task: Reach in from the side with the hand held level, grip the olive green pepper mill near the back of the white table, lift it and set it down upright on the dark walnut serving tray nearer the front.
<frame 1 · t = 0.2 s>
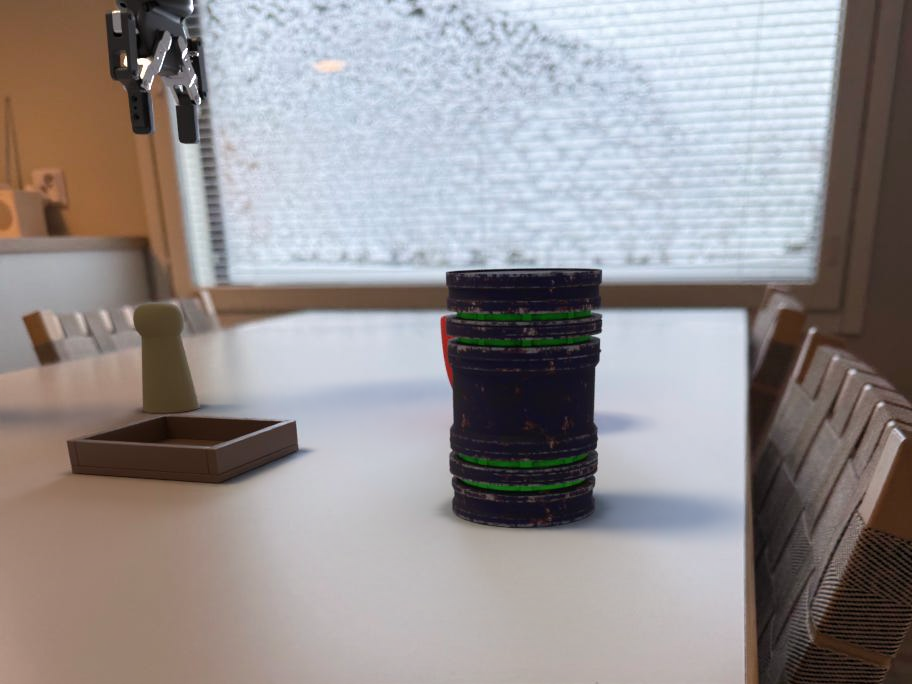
hand: (167, 139, 101), 27 cm above the table, tool pointing down, fingers open, 8 cm apart
storage jar: (523, 510, 65), on the table
serving tray: (190, 461, 80), on the table
ceramic cup: (503, 428, 92), on the table
olive green pepper mill: (171, 410, 105), on the table
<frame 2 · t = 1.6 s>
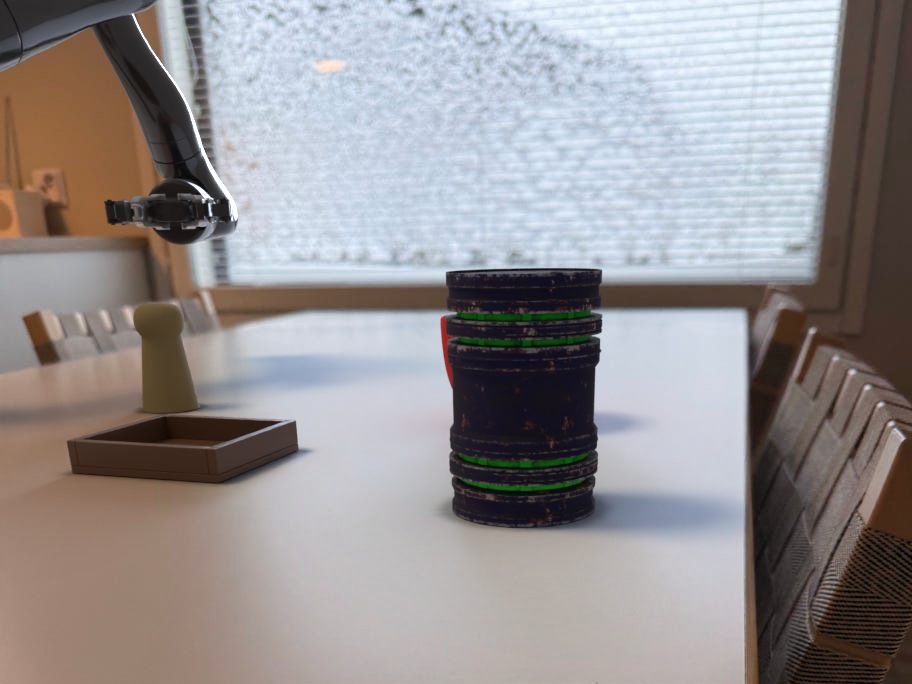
hand: (161, 210, 107), 20 cm above the table, tool horizontal, fingers open, 8 cm apart
nothing on the table moved.
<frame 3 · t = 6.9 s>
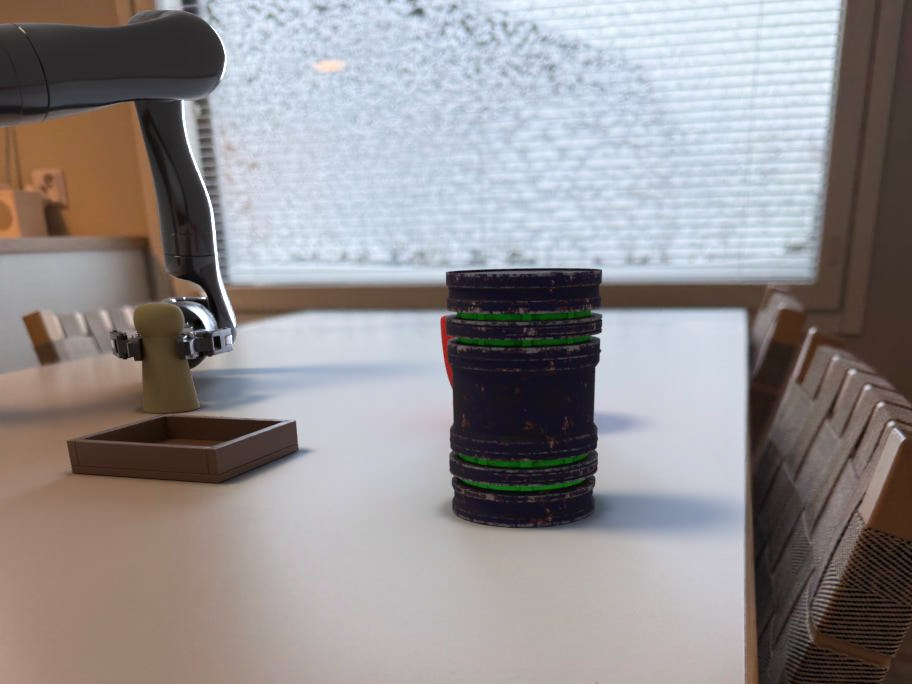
hand: (159, 349, 100), 6 cm above the table, tool horizontal, fingers closed on olive green pepper mill, 4 cm apart
olive green pepper mill: (171, 410, 105), on the table, touching gripper
everything else where it was.
when the fingers open (7 cm above the table, at t = 16.1 s): olive green pepper mill stays where it is, resting on serving tray.
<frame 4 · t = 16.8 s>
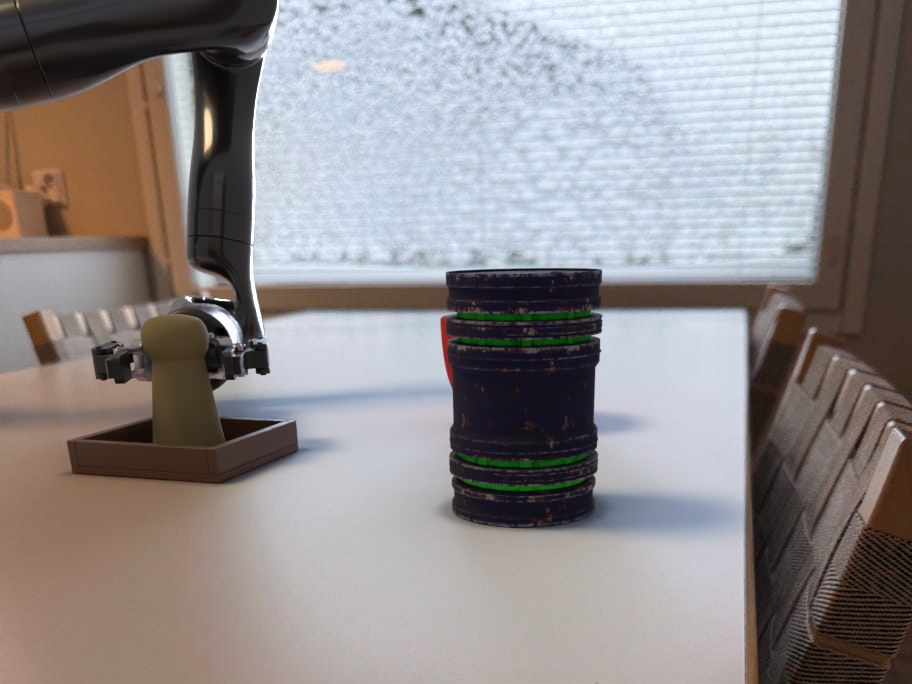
hand: (173, 368, 75), 8 cm above the table, tool horizontal, fingers open, 8 cm apart
olive green pepper mill: (191, 455, 80), resting on serving tray
everything else where it was.
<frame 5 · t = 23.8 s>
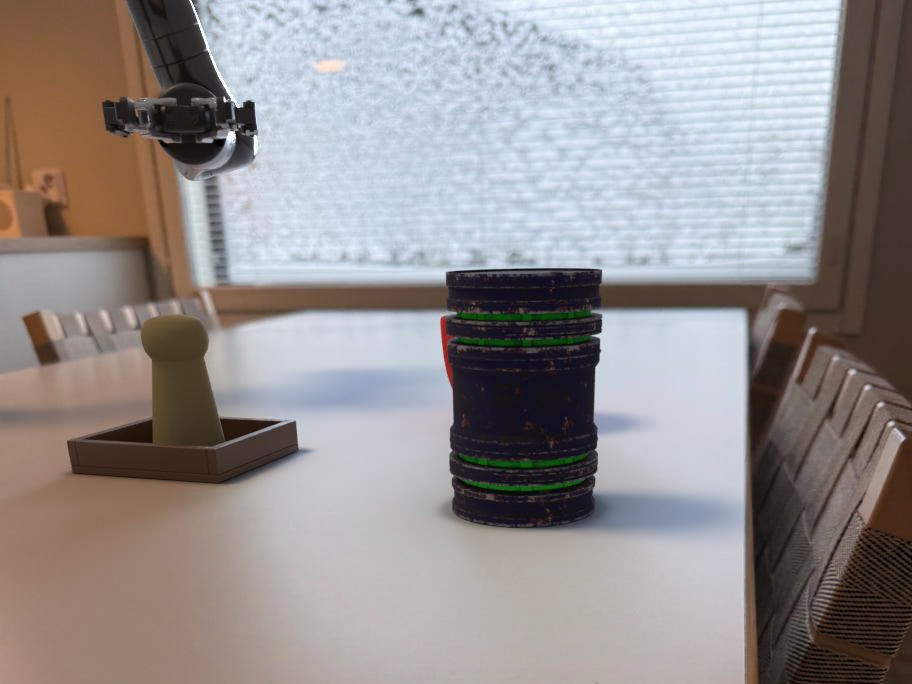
hand: (173, 110, 87), 28 cm above the table, tool horizontal, fingers open, 8 cm apart
nothing on the table moved.
at the end: olive green pepper mill inside the target area in the serving tray (0.1 cm from its centre), point 0.4 cm above the serving tray's base; olive green pepper mill tilted 0°; the gripper is holding nothing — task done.
